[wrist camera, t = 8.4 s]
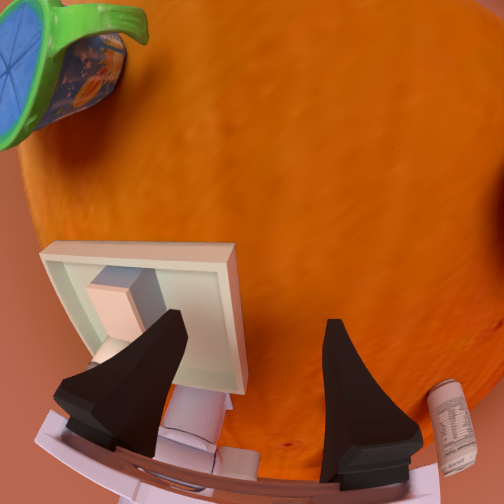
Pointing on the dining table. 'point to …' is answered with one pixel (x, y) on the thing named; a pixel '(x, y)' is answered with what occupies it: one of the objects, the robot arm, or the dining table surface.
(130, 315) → the pale pink block
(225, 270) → the white square tray
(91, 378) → the robot arm
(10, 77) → the snack cup
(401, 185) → the dining table surface
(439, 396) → the energy drink can
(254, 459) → the lumpy-topped squat cylinder
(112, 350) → the jar
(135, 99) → the dining table surface
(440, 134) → the dining table surface
